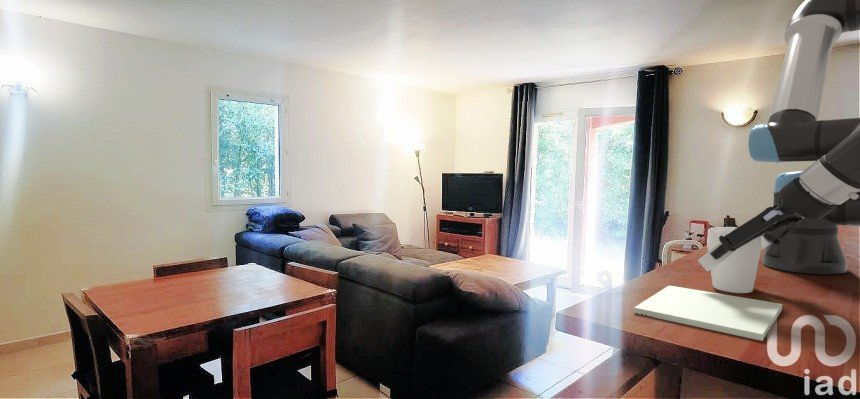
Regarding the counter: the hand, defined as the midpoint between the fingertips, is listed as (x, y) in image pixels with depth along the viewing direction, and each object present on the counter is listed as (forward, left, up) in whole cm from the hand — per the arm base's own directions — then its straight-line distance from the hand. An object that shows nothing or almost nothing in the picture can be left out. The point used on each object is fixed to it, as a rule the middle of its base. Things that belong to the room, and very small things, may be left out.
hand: (721, 261), depth 90 cm
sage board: (+18, +2, -5) cm, 19 cm away
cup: (0, +2, -6) cm, 6 cm away
